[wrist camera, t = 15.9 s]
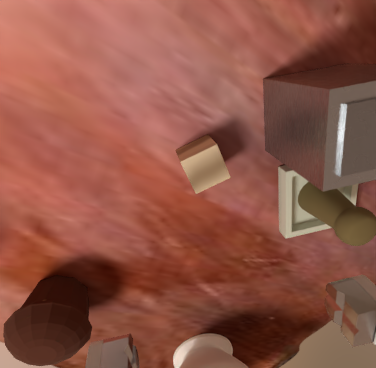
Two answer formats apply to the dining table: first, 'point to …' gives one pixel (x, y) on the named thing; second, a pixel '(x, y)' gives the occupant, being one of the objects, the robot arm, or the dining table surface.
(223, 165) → the maple block
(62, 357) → the muffin
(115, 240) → the dining table surface
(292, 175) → the tray
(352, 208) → the cork
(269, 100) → the box
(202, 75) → the dining table surface
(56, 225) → the dining table surface
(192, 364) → the decorative vase
